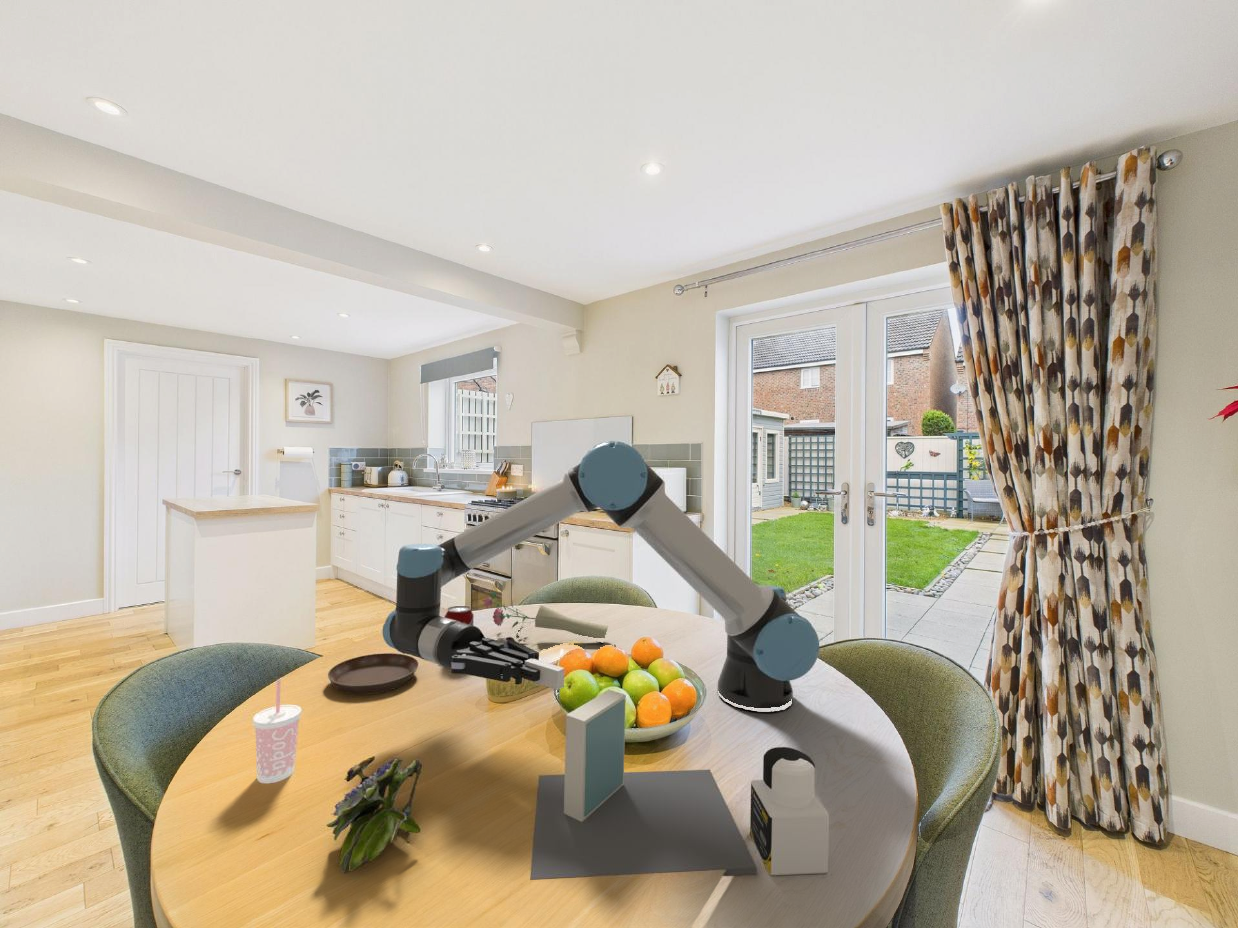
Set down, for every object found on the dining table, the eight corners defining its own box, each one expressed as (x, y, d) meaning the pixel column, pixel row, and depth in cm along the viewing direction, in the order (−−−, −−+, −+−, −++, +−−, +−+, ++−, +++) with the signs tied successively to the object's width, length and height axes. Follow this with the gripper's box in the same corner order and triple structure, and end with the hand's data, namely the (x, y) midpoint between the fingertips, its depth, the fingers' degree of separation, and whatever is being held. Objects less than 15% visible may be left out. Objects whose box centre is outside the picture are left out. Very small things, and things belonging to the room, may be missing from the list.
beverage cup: (247, 790, 75) (250, 691, 75) (254, 768, 80) (257, 675, 80) (298, 779, 78) (301, 684, 78) (301, 759, 83) (303, 669, 83)
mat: (709, 774, 81) (709, 769, 81) (756, 873, 61) (756, 866, 61) (538, 780, 79) (539, 775, 79) (529, 886, 59) (530, 878, 59)
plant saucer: (427, 687, 112) (427, 672, 112) (332, 706, 102) (333, 690, 102) (407, 660, 126) (408, 648, 126) (323, 675, 116) (323, 661, 116)
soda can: (464, 664, 124) (465, 612, 124) (437, 661, 126) (439, 610, 126) (477, 654, 131) (478, 605, 131) (452, 651, 132) (453, 603, 132)
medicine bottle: (749, 834, 68) (751, 740, 68) (802, 832, 69) (804, 739, 69) (769, 876, 61) (771, 772, 61) (829, 874, 62) (831, 770, 62)
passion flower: (356, 872, 67) (377, 764, 75) (436, 866, 66) (449, 757, 73) (295, 875, 58) (325, 753, 66) (385, 869, 57) (406, 745, 64)
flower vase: (594, 675, 138) (469, 638, 142) (603, 647, 150) (487, 613, 153) (603, 638, 135) (474, 601, 138) (612, 612, 146) (492, 578, 150)
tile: (563, 813, 70) (566, 714, 70) (606, 777, 79) (608, 689, 79) (583, 822, 68) (585, 721, 69) (624, 784, 77) (626, 695, 77)
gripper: (481, 656, 95) (586, 690, 82) (418, 678, 84) (529, 721, 71) (483, 614, 95) (588, 641, 82) (420, 631, 84) (531, 666, 71)
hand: (560, 678), depth 77 cm, fingers closed
